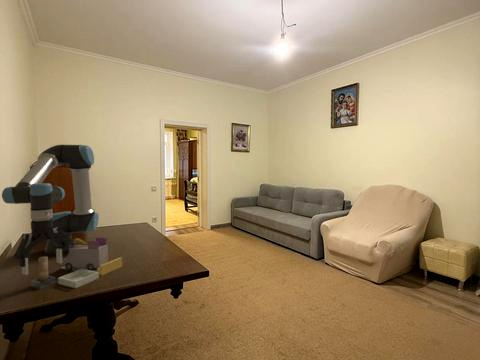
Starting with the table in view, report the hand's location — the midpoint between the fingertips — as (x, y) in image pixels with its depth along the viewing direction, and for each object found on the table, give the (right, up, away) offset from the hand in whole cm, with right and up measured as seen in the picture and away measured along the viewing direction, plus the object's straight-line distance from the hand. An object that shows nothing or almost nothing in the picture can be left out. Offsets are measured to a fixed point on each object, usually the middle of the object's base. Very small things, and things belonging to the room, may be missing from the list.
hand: (43, 268), depth 112 cm
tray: (+13, -7, +4) cm, 15 cm away
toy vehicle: (+8, -6, +18) cm, 21 cm away
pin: (0, -7, +1) cm, 7 cm away
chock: (+21, -6, +16) cm, 27 cm away
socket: (0, -7, +1) cm, 7 cm away
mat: (+10, -6, +20) cm, 23 cm away
